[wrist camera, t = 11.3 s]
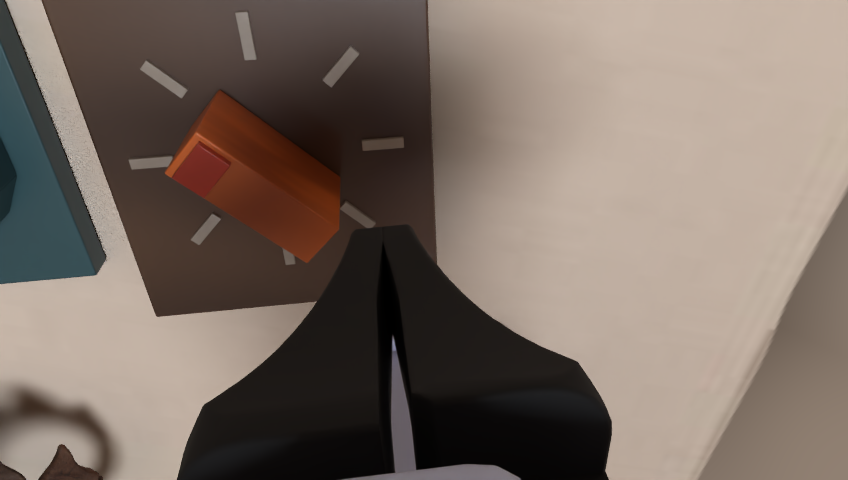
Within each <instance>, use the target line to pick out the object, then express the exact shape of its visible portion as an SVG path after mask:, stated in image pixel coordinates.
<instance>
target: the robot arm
mask: <svg viewBox="0 0 848 480" xmlns="http://www.w3.org/2000/svg"><path fill="white" fill-rule="evenodd" d="M611 436H612V421H611V419H610V416H609V414H608V411H607V409H606V406H605V404H604V402H603V400H602V398H601V396H600V395H599V393H598V391H597V390H596V388H595V387H594V385H593V384H592V382H591V380H590V379H589V378H588V376H587V375H586V373H585V372H584V370H583V369H582V367H581V366H580V365H579V363H578V362H577V361H574V360H572V359H570V358H567V357H565V356H562V355H560V354H558V353H555V352H553V351H550V350H548V349H546V348H543V347H541V346H539V345H537V344H535V343H533V342H531V341H529V340H527V339H526V338H524V337H522V336H520V335H518V334H516V333H515V332H513V331H511V330H510V329H508V328H507V327H505V326H504V325H502V324H501V323H499V322H498V321H496V320H494V319H493V318H492V317H490V316H489V315H488V314H486V313H485V312H484V311H482V310H481V309H480V308H479V307H478V306H477V305H475V304H474V303H473V302H472V301H471V300H470V299H468V298H467V297H466V296H465V295H464V294H463V293H462V292H461V291H460V290H459V289H458V288H457V287H456V286H455V285H454V284H453V283H452V282H451V281H450V280H449V278H448V277H447V276H446V275H445V274H444V273H443V272H442V270H441V269H440V268H439V267H438V265H437V264H436V263H435V262H434V261H433V259H432V258H431V257H430V255H429V254H428V253H427V251H426V250H425V248H424V247H423V245H422V244H421V242H420V241H419V239H418V237H417V235H416V234H415V232H414V229H413V228H412V227H411V226H410V225H409V224H404V225H394V226H384V227H374V228H364V229H355V230H354V231H353V233H352V234H351V236H350V240H349V243H348V245H347V248H346V250H345V253H344V255H343V257H342V259H341V261H340V263H339V265H338V267H337V269H336V271H335V273H334V275H333V277H332V278H331V280H330V282H329V284H328V285H327V287H326V288H325V290H324V292H323V293H322V295H321V296H320V298H319V299H318V301H317V303H316V304H315V305H314V307H313V308H312V310H311V311H310V312H309V314H308V315H307V316H306V318H305V319H304V320H303V321H302V323H301V324H300V325H299V326H298V327H297V329H296V330H295V331H294V332H293V333H292V334H291V335H290V336H289V337H288V339H287V340H286V341H285V342H284V343H283V344H282V345H281V346H280V347H279V348H278V349H277V350H276V351H275V352H274V353H273V354H272V355H271V356H270V357H269V358H267V359H266V360H265V361H264V362H263V363H262V364H261V365H259V366H258V367H257V368H256V369H254V370H253V371H252V372H251V373H249V374H248V375H247V376H246V377H244V378H243V379H242V380H240V381H239V382H238V383H236V384H235V385H233V386H232V387H230V388H229V389H227V390H226V391H224V392H223V393H221V394H220V395H218V396H217V397H215V398H214V399H213V400H211V401H209V402H208V403H206V404H204V406H203V407H202V409H201V412H200V414H199V416H198V418H197V420H196V423H195V425H194V427H193V430H192V432H191V434H190V437H189V439H188V441H187V444H186V447H185V451H184V454H183V458H182V462H181V466H180V470H179V474H178V478H177V480H609V479H608V477H607V474H606V472H605V469H606V464H607V458H608V453H609V447H610V441H611Z"/></svg>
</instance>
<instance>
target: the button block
mask: <svg viewBox="0 0 848 480" xmlns="http://www.w3.org/2000/svg"><path fill="white" fill-rule="evenodd" d="M105 260H106V257H105V255H104V252H103V250H102V247H101V245H100V242H99V240H98V237H97V235H96V232H95V230H94V227H93V225H92V222H91V219H90V217H89V214H88V212H87V209H86V207H85V204H84V202H83V199H82V197H81V194H80V192H79V189H78V187H77V184H76V181H75V179H74V176H73V174H72V171H71V169H70V166H69V164H68V161H67V159H66V156H65V154H64V151H63V149H62V146H61V143H60V141H59V138H58V136H57V133H56V131H55V128H54V126H53V123H52V121H51V118H50V116H49V113H48V111H47V108H46V105H45V103H44V100H43V98H42V95H41V93H40V90H39V88H38V85H37V83H36V80H35V78H34V75H33V73H32V70H31V67H30V65H29V62H28V60H27V57H26V55H25V52H24V50H23V47H22V45H21V42H20V40H19V37H18V35H17V32H16V29H15V27H14V24H13V22H12V19H11V17H10V14H9V12H8V9H7V7H6V4H5V2H4V0H0V284H6V283H17V282H28V281H39V280H50V279H60V278H71V277H82V276H93V275H97V273H98V272H99V270H100V268H101V267H102V265H103V263H104V262H105Z"/></svg>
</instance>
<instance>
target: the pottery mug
mask: <svg viewBox="0 0 848 480" xmlns="http://www.w3.org/2000/svg"><path fill="white" fill-rule="evenodd" d="M0 480H26V478H25V477H24V476H23V475H22V474H21V473H19V472H17V471H15V470H13V469H11V468H9V467H7V466H5V465H3V464H2V463H1V462H0ZM38 480H103V478H102V476H99V474H98V473H97V472H96V471H94V470H92V469H90V468H86V467H83V466H80V465H78V464H77V463H76V462H75V460H74V458H73V456H72V454H71V452H70V451H69V450H68V449H67V448H66V446H65V445H63V444H61V445H59V446H58V448H57V452H56V455H55V456H54V458H53V460H52V462H51V463H50V465H49V466H48V467H47V469H46V470H45V471H44V473H43V474H42V475H41V476H40V478H39V479H38Z"/></svg>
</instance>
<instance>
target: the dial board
mask: <svg viewBox="0 0 848 480" xmlns="http://www.w3.org/2000/svg"><path fill="white" fill-rule="evenodd" d="M42 3H43V6H44V8H45V11H46V14H47V17H48V20H49V22H50V25H51V28H52V31H53V33H54V36H55V39H56V42H57V44H58V47H59V50H60V53H61V55H62V58H63V61H64V64H65V66H66V69H67V72H68V75H69V77H70V80H71V83H72V86H73V88H74V91H75V94H76V97H77V99H78V102H79V105H80V108H81V110H82V113H83V116H84V119H85V121H86V124H87V127H88V130H89V132H90V135H91V138H92V141H93V144H94V146H95V149H96V152H97V155H98V157H99V160H100V163H101V166H102V168H103V171H104V174H105V177H106V179H107V182H108V185H109V188H110V190H111V193H112V196H113V199H114V201H115V204H116V207H117V210H118V212H119V215H120V218H121V221H122V223H123V226H124V229H125V232H126V234H127V237H128V240H129V243H130V245H131V248H132V251H133V254H134V257H135V259H136V262H137V265H138V268H139V270H140V273H141V276H142V279H143V281H144V284H145V287H146V290H147V292H148V295H149V298H150V301H151V303H152V306H153V309H154V312H155V314H156V316H157V317H160V316H170V315H181V314H191V313H202V312H212V311H222V310H233V309H243V308H253V307H264V306H274V305H285V304H295V303H305V302H316V301H318V299H319V298H320V296H321V295H322V293H323V292H324V290H325V288H326V287H327V285H328V284H329V282H330V280H331V278H332V277H333V275H334V273H335V271H336V269H337V267H338V265H339V263H340V261H341V259H342V257H343V255H344V253H345V250H346V248H347V245H348V243H349V240H350V236H351V234H352V233H353V231H354V230H355V229H364V228H374V227H384V226H394V225H404V224H409V225H410V226H411V227H412V228H413V229H414V232H415V234H416V235H417V237H418V239H419V241H420V242H421V244H422V245H423V247H424V248H425V250H426V251H427V253H428V254H429V255H430V257H431V258H432V259H433V261H434V262H435V263H436V264H437V253H436V225H435V196H434V168H433V140H432V111H431V83H430V54H429V26H428V0H42ZM218 90H221V91H222V92H224V93H225V94H226V95H228V96H229V97H231V98H232V99H233V100H235V101H236V102H237V103H239V104H240V105H242V106H243V107H244V108H246V109H247V110H248V111H250V112H251V113H253V114H254V115H255V116H257V117H258V118H260V119H261V120H262V121H264V122H265V123H266V124H268V125H269V126H271V127H272V128H273V129H275V130H276V131H277V132H279V133H280V134H282V135H283V136H284V137H286V138H287V139H288V140H290V141H291V142H293V143H294V144H295V145H297V146H298V147H299V148H301V149H302V150H304V151H305V152H306V153H308V154H309V155H310V156H312V157H313V158H315V159H316V160H317V161H319V162H320V163H321V164H323V165H324V166H326V167H327V168H328V169H330V170H331V171H332V172H334V173H335V174H337V175H338V176H339V177H340V215H339V230H338V231H337V232H336V233H335V234H334V235H333V237H332V238H331V239H330V240H329V241H328V242H327V243H326V244H325V245H324V246H323V247H322V248H321V249H320V250H319V251H318V252H317V253H316V255H315V256H314V257H313V258H312V259H311V260H310V261H309V262H308V263H306V262H304V261H302V260H301V259H299V258H298V257H296V256H295V255H293V254H291V253H290V252H288V251H287V250H285V249H283V248H282V247H280V246H279V245H277V244H276V243H274V242H272V241H271V240H269V239H268V238H266V237H264V236H263V235H261V234H260V233H258V232H256V231H255V230H253V229H252V228H250V227H249V226H247V225H245V224H244V223H242V222H241V221H239V220H237V219H236V218H234V217H233V216H231V215H230V214H228V213H226V212H225V211H223V210H222V209H220V208H218V207H217V206H215V205H214V204H212V203H210V202H209V201H207V200H206V199H204V198H202V197H201V196H199V195H198V194H196V193H194V192H193V191H191V190H190V189H188V188H187V187H185V186H183V185H182V184H180V183H179V182H177V181H175V180H174V179H172V178H171V177H169V176H168V175H166V174H165V171H166V169H167V168H168V166H169V164H170V162H171V161H172V159H173V157H174V156H175V154H176V152H177V150H178V149H179V147H180V145H181V144H182V142H183V140H184V138H185V137H186V135H187V133H188V132H189V130H190V128H191V126H192V125H193V123H194V122H195V121H196V119H197V118H198V117H199V116H200V114H201V113H202V112H203V110H204V109H205V108H206V106H207V105H208V104H209V102H210V101H211V100H212V98H213V97H214V96H215V94H216V93H217V92H218Z"/></svg>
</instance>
